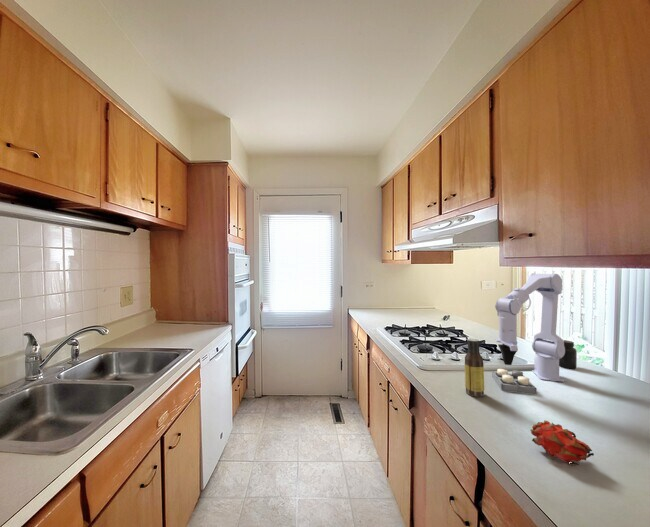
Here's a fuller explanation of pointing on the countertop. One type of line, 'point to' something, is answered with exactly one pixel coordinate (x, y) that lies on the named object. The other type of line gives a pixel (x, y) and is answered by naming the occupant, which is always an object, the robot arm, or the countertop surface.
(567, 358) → the supplement bottle
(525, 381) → the button front left
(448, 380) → the countertop surface
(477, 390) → the sauce bottle
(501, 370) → the button back right
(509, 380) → the button front right
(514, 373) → the button back left charcoal
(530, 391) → the button board
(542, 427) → the dragon fruit
